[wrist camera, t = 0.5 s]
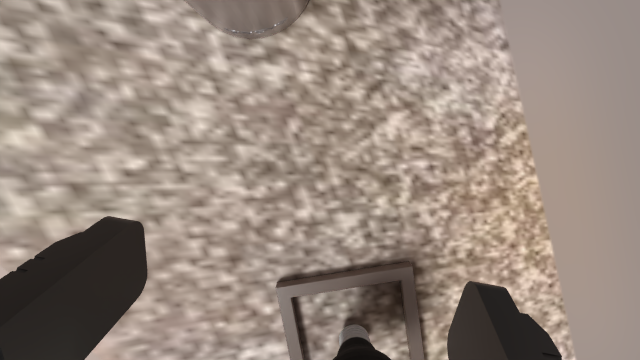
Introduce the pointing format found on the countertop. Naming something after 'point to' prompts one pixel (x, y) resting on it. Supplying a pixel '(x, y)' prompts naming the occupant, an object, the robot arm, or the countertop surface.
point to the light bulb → (357, 345)
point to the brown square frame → (344, 282)
